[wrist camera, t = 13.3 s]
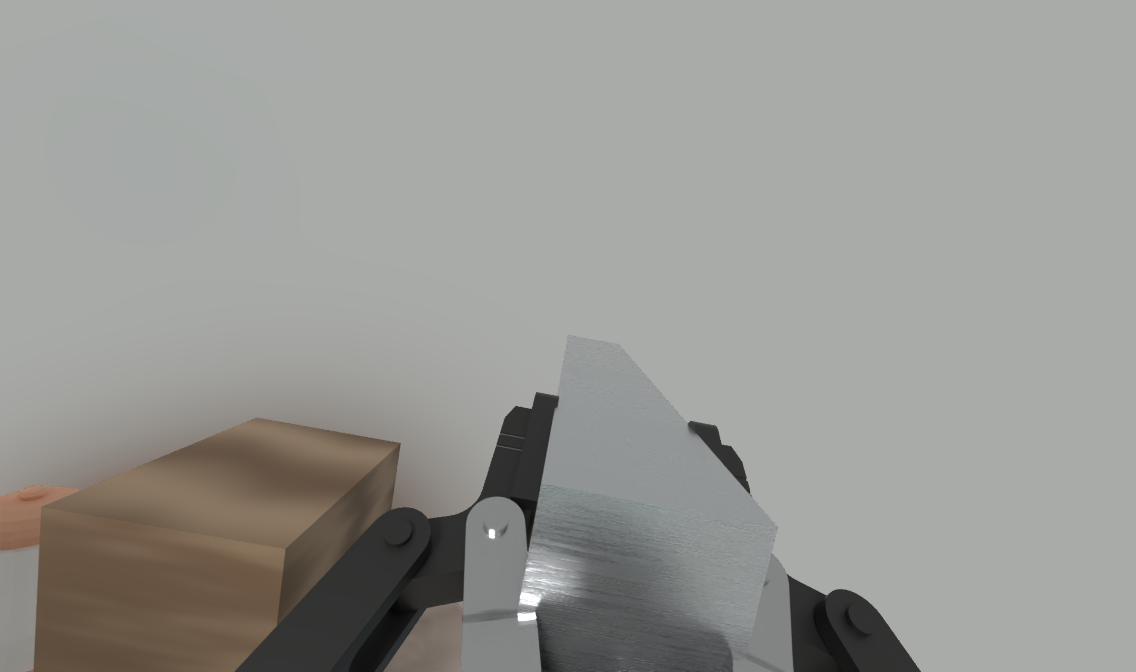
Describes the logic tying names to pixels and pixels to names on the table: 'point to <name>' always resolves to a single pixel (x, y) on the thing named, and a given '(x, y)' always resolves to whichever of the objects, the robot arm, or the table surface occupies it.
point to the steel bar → (638, 531)
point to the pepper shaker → (21, 572)
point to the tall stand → (202, 548)
